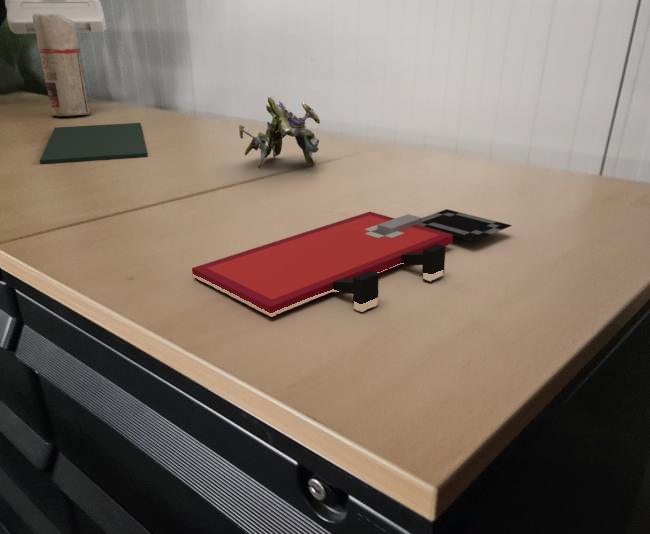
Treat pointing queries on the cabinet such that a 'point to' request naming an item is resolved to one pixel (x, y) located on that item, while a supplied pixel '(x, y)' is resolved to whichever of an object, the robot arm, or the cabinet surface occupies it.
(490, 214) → the cabinet surface
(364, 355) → the cabinet surface
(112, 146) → the mat
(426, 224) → the red board with handle
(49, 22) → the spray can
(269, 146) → the toy creature figure
